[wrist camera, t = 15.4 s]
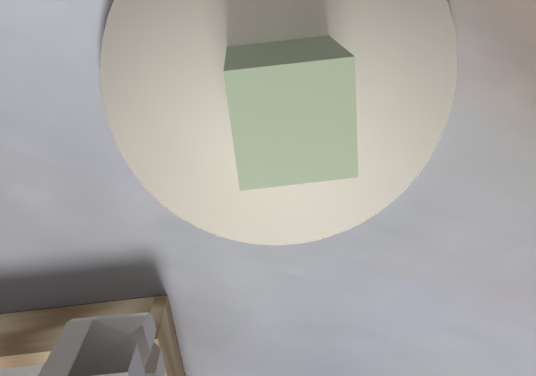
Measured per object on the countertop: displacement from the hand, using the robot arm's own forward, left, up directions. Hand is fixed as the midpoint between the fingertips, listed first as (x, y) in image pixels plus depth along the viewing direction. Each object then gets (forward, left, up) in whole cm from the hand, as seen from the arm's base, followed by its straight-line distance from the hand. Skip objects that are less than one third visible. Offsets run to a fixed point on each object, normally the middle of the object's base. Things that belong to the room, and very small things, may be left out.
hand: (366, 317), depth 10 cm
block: (0, 0, -18) cm, 18 cm away
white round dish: (0, 0, -19) cm, 19 cm away
